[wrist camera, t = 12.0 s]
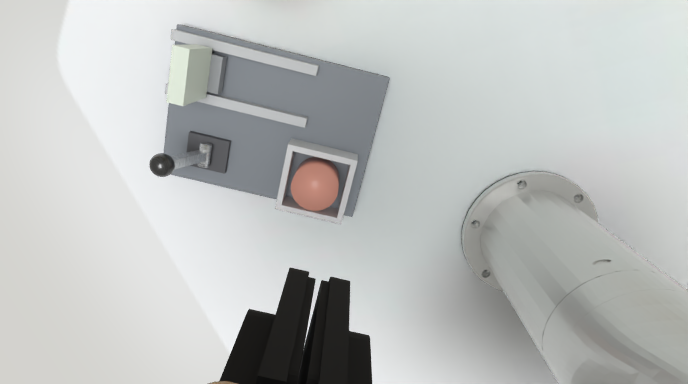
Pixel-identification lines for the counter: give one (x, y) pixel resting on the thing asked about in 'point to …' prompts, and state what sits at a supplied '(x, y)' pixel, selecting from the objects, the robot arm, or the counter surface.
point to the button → (315, 184)
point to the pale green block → (194, 73)
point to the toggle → (181, 160)
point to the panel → (277, 121)
